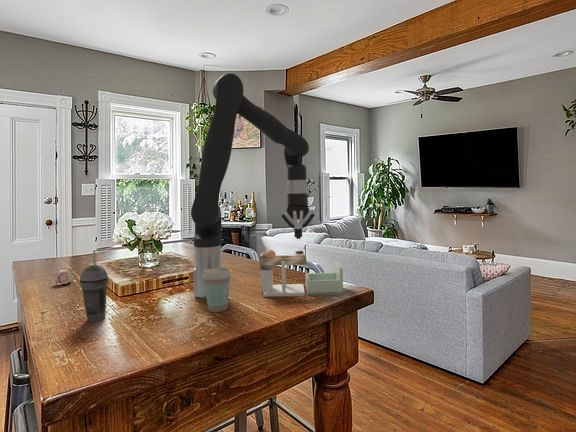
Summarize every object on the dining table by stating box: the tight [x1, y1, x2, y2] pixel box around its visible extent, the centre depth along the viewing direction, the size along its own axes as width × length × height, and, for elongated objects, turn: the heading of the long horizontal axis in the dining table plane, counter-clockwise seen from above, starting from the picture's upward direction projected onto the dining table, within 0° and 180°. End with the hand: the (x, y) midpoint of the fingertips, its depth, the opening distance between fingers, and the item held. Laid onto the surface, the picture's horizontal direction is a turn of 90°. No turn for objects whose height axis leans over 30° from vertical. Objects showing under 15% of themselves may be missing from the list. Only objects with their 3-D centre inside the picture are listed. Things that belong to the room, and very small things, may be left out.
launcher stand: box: [259, 261, 306, 298], centre depth 128 cm, size 15×12×12 cm
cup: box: [305, 261, 344, 297], centre depth 129 cm, size 12×12×9 cm
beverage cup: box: [79, 249, 109, 323], centre depth 104 cm, size 7×7×20 cm
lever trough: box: [259, 250, 307, 270], centre depth 131 cm, size 16×13×5 cm
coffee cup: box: [202, 267, 232, 313], centre depth 110 cm, size 8×9×12 cm
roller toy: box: [53, 269, 73, 284], centre depth 148 cm, size 4×6×6 cm
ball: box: [264, 249, 277, 259], centre depth 128 cm, size 4×4×4 cm
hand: (298, 238), depth 137 cm, fingers closed
